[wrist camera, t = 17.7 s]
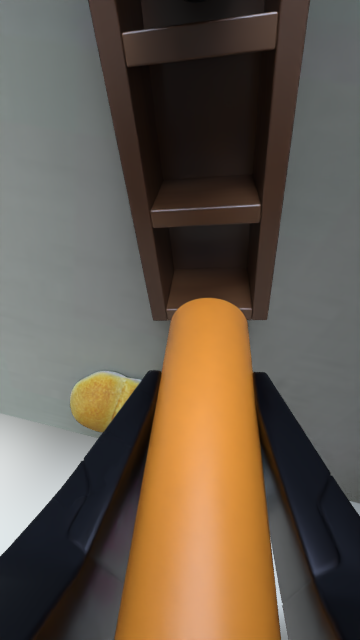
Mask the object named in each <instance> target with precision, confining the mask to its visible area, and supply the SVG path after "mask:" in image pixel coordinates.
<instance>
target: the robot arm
mask: <svg viewBox="0 0 360 640" xmlns="http://www.w3.org/2000/svg"><path fill="white" fill-rule="evenodd" d="M161 374H162V373H161V371H158V370H150V371H148V372H147V374H146V375H145V376H144V378H143V379H142V380H141V382H140V383H139V384H138V386H137V387H136V388H135V390H134V391H133V393H132V394H131V395H130V397H129V398H128V399H127V401H126V402H125V403H124V405H123V406H122V407H121V409H120V410H119V411H118V413H117V414H116V416H115V417H114V418H113V420H112V421H111V422H110V424H109V425H108V426H107V428H106V429H105V430H104V432H103V433H102V434H101V436H100V437H99V439H98V440H97V441H96V443H95V444H94V445H93V447H92V448H91V449H90V451H89V452H88V453H87V455H86V456H85V457H84V461H81V463H80V464H79V465H78V467H77V468H76V470H75V471H74V472H73V474H72V475H71V476H70V477H69V479H68V480H67V481H66V483H65V484H64V485H63V486H62V488H61V489H60V490H59V491H58V492H57V494H56V495H55V496H54V497H53V498H52V500H51V501H50V502H49V503H48V504H47V505H46V506H45V508H44V509H43V510H42V511H41V512H40V513H39V514H38V515H37V517H36V518H35V519H34V520H33V521H32V522H31V523H30V524H29V525H28V527H27V528H26V529H25V530H24V531H23V532H22V533H21V534H20V536H19V537H18V538H17V539H16V540H15V541H14V542H13V543H12V545H11V546H10V547H9V548H8V549H7V550H6V551H5V552H4V553H3V554H2V555H1V556H0V640H114V637H115V632H116V626H117V621H118V615H119V609H120V604H121V598H122V592H123V587H124V581H125V576H126V570H127V564H128V559H129V553H130V548H131V542H132V536H133V531H134V525H135V520H136V514H137V508H138V503H139V497H140V491H141V486H142V480H143V475H144V469H145V463H146V458H147V452H148V447H149V441H150V435H151V430H152V424H153V419H154V413H155V407H156V402H157V396H158V391H159V385H160V379H161ZM252 377H253V386H254V396H255V406H256V414H257V421H258V428H259V436H260V446H261V455H262V465H263V474H264V484H265V493H266V502H267V512H268V521H269V531H270V537H271V543H272V548H273V554H274V560H275V565H276V571H277V577H278V583H279V588H280V594H281V600H282V603H283V611H284V617H285V623H286V628H287V634H288V639H289V640H360V516H359V514H358V513H357V512H356V510H355V509H354V507H353V506H352V505H351V503H350V502H349V500H348V499H347V497H346V496H345V494H344V493H343V491H342V490H341V488H340V487H339V485H338V484H337V482H336V480H335V479H334V477H333V476H330V474H331V473H330V471H329V470H328V468H327V467H326V465H325V464H324V462H323V461H322V459H321V457H320V456H319V454H318V453H317V451H316V450H315V448H314V447H313V445H312V443H311V442H310V440H309V439H308V437H307V436H306V434H305V433H304V431H303V429H302V428H301V426H300V425H299V423H298V422H297V420H296V419H295V417H294V415H293V414H292V412H291V411H290V409H289V408H288V406H287V405H286V403H285V401H284V400H283V398H282V397H281V395H280V394H279V392H278V391H277V389H276V387H275V386H274V384H273V383H272V381H271V380H270V378H269V377H268V375H267V374H266V373H265V372H254V373H253V374H252Z"/></svg>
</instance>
